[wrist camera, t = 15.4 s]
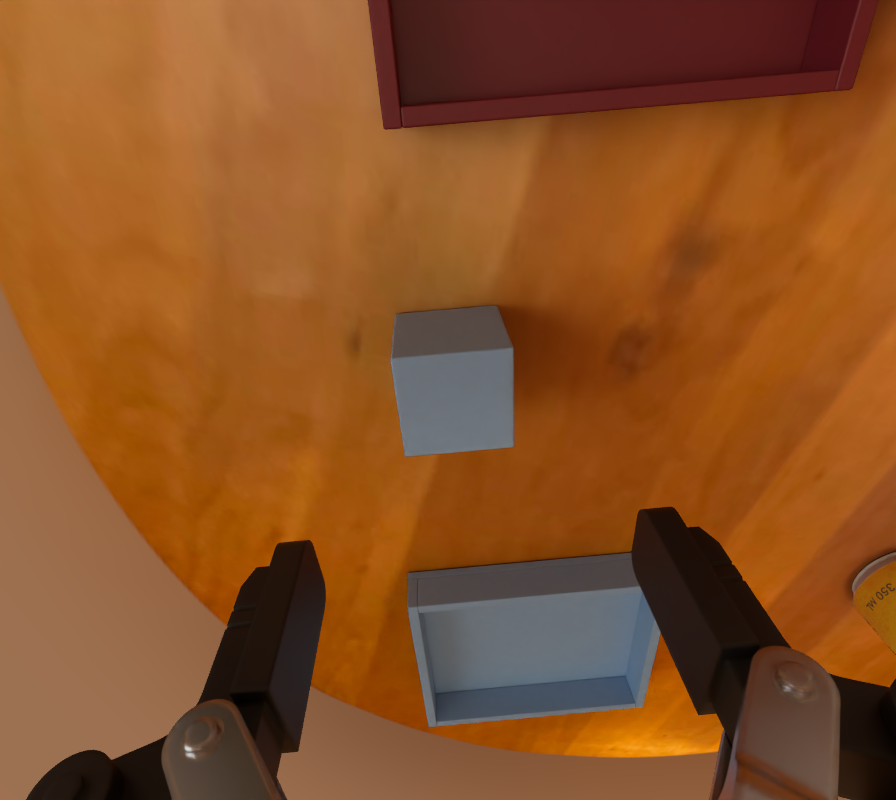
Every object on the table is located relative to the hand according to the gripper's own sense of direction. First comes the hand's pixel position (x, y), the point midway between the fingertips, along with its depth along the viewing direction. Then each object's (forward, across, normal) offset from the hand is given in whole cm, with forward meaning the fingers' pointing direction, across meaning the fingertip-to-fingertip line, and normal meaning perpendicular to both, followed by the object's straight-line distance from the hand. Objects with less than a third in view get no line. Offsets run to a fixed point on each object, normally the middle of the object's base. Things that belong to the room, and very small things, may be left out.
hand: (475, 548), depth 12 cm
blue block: (+12, 0, +1) cm, 12 cm away
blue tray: (+12, -4, +22) cm, 25 cm away
